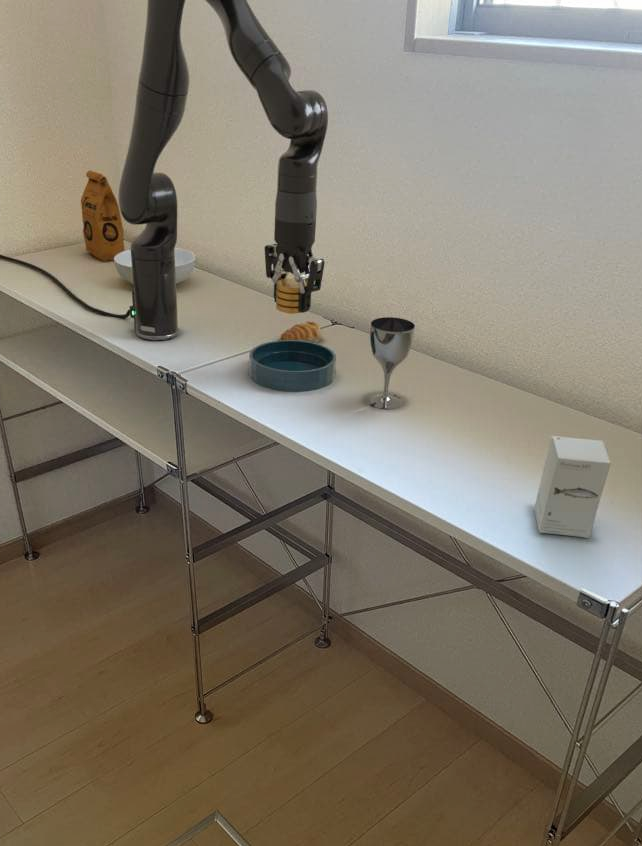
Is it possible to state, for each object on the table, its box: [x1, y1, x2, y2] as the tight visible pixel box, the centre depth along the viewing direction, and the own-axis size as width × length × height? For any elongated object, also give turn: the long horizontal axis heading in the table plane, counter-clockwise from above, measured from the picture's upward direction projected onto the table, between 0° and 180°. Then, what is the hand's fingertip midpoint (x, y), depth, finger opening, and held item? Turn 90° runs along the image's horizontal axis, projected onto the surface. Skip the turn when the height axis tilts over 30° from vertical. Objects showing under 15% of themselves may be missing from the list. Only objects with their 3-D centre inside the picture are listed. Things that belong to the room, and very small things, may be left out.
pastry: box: [280, 321, 324, 343], centre depth 182 cm, size 9×7×4 cm
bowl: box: [248, 339, 337, 393], centre depth 165 cm, size 17×17×4 cm
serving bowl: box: [113, 247, 196, 285], centre depth 215 cm, size 21×21×7 cm
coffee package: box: [80, 170, 125, 262], centre depth 231 cm, size 10×12×22 cm
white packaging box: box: [533, 435, 612, 539], centre depth 119 cm, size 7×7×13 cm
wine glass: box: [369, 316, 416, 410], centre depth 154 cm, size 8×8×15 cm
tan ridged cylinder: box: [275, 277, 307, 315], centre depth 158 cm, size 6×6×5 cm
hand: (291, 306), depth 159 cm, fingers closed on tan ridged cylinder, 6 cm apart
